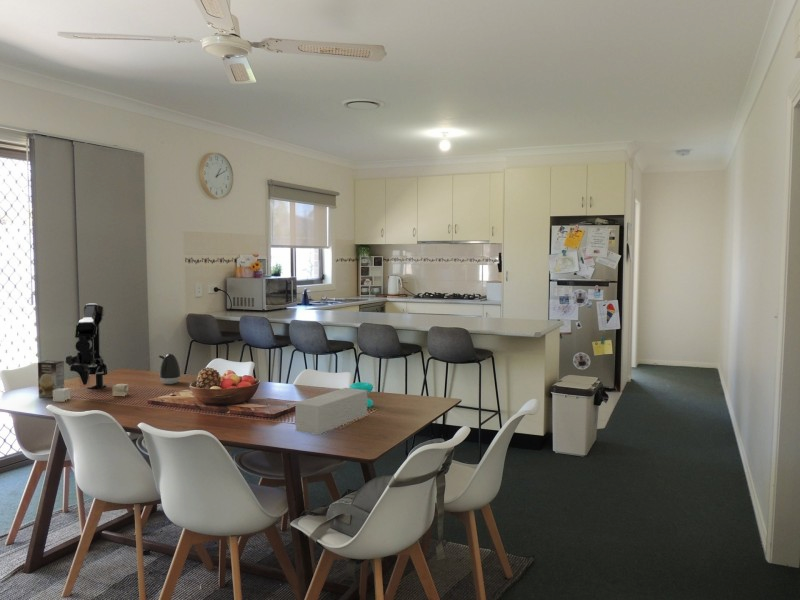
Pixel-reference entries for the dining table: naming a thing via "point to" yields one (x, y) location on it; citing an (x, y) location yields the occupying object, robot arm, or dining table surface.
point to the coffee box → (50, 377)
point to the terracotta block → (89, 381)
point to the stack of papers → (330, 410)
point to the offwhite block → (61, 394)
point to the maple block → (120, 389)
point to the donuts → (364, 387)
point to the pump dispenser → (169, 369)
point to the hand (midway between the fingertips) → (87, 383)
